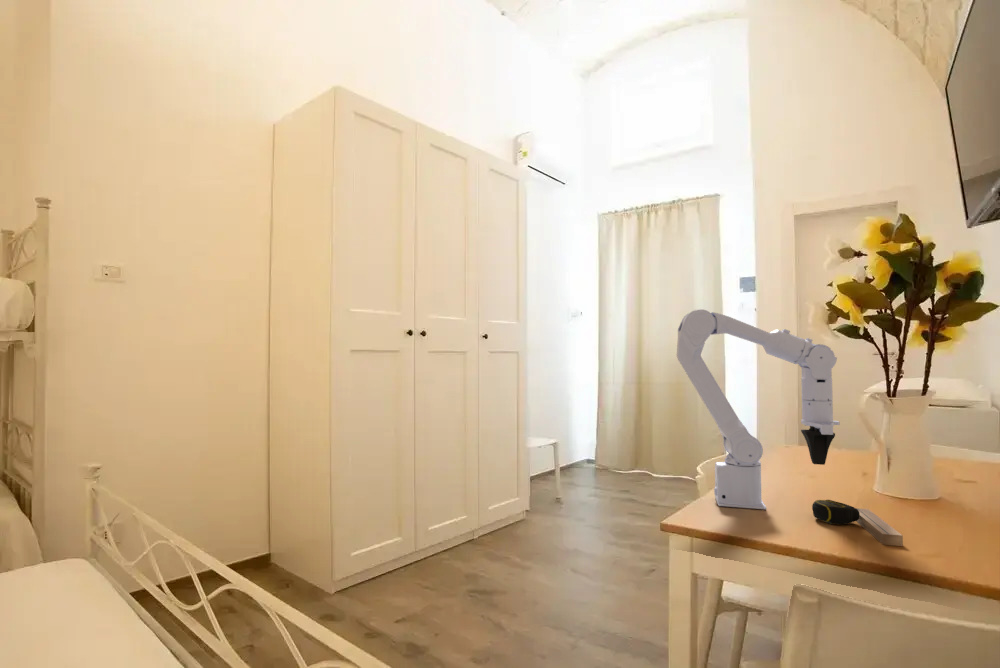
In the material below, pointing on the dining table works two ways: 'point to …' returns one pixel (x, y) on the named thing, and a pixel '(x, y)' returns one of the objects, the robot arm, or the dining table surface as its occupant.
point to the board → (879, 528)
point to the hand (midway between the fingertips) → (818, 463)
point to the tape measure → (834, 512)
